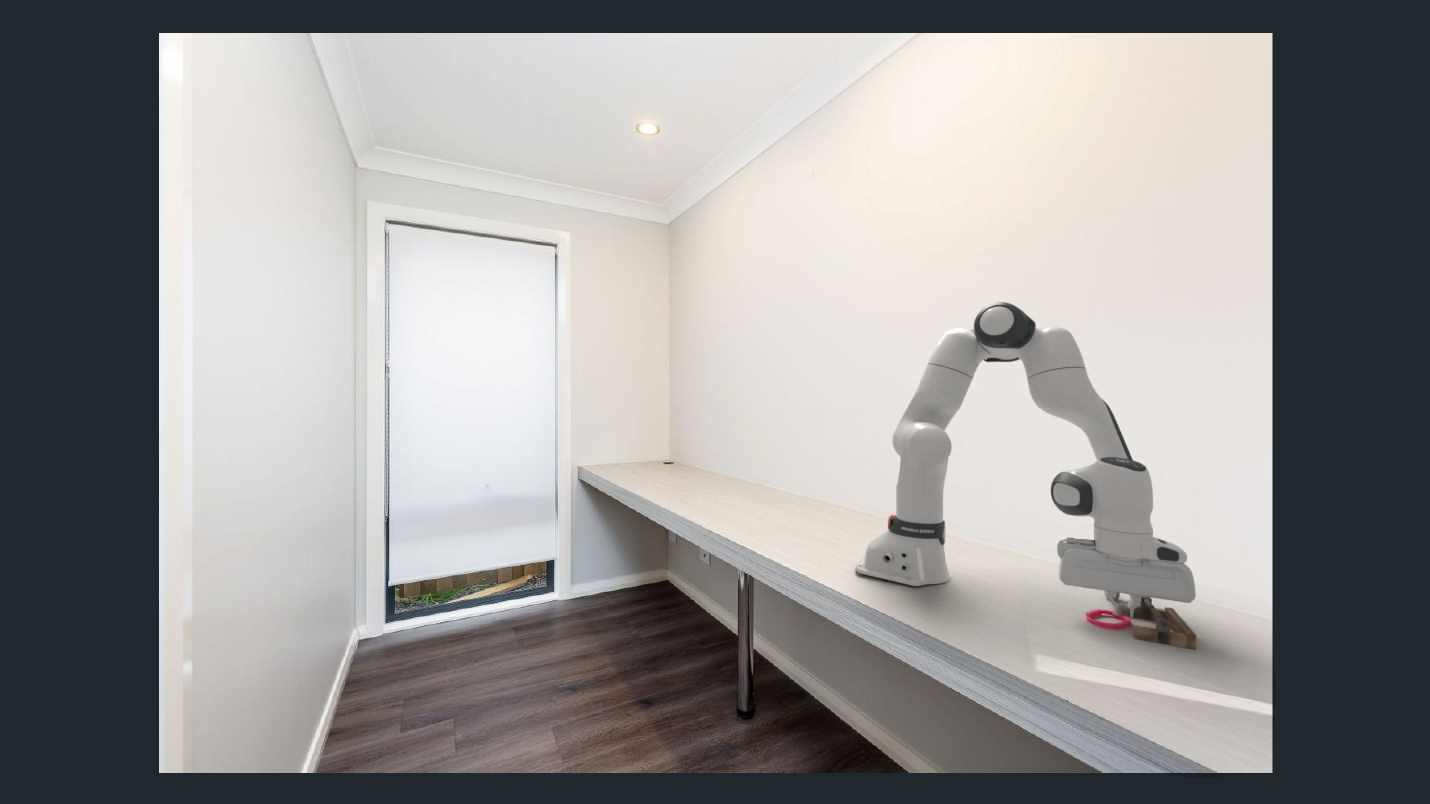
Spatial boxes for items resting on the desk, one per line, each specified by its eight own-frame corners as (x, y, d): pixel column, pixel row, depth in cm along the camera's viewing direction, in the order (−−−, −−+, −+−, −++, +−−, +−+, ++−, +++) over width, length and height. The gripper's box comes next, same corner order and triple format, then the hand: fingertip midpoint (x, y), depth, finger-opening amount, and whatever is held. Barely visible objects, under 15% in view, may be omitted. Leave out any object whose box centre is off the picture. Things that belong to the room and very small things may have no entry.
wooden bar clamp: (1134, 638, 90) (1135, 616, 90) (1119, 612, 101) (1119, 592, 101) (1196, 649, 86) (1196, 626, 86) (1172, 621, 97) (1172, 600, 97)
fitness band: (1104, 614, 101) (1104, 606, 101) (1137, 626, 96) (1138, 618, 96) (1079, 621, 98) (1079, 613, 98) (1113, 633, 93) (1113, 625, 93)
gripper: (1059, 539, 98) (1059, 610, 98) (1198, 555, 88) (1199, 633, 88) (1055, 532, 104) (1055, 599, 104) (1186, 546, 94) (1187, 620, 94)
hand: (1122, 615), depth 96 cm, fingers closed
